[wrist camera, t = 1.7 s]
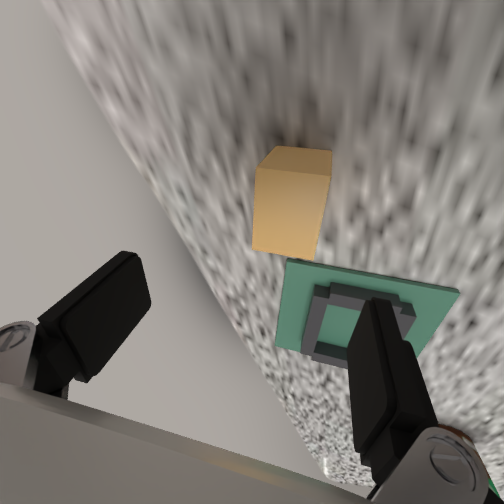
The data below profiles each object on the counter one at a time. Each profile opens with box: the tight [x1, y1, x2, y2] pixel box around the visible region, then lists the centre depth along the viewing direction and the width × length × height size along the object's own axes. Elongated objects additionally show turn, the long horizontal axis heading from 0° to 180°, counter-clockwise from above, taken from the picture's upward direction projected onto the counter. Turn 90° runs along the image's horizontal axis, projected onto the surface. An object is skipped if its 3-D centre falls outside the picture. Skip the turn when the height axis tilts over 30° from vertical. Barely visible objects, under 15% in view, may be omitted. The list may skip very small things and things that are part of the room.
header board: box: [275, 259, 460, 369], centre depth 28 cm, size 16×14×2 cm
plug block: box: [252, 146, 332, 260], centre depth 20 cm, size 4×6×7 cm
